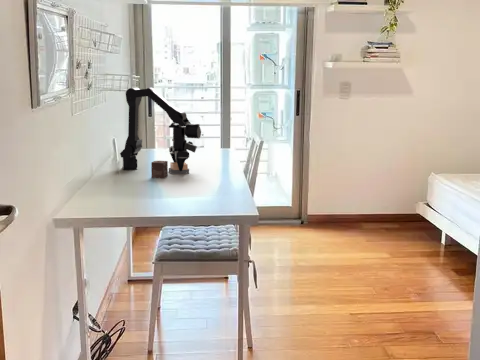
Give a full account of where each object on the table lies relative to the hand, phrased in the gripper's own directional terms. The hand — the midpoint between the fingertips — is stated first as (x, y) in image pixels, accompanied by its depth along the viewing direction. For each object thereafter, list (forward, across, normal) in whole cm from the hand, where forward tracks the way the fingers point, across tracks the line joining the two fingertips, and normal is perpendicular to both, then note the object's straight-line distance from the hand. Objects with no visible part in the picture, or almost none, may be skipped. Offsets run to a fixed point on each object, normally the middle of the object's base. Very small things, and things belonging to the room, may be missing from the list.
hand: (178, 169), depth 262 cm
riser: (+2, 0, 0) cm, 2 cm away
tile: (0, 0, 0) cm, 0 cm away
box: (+2, -9, +11) cm, 14 cm away
